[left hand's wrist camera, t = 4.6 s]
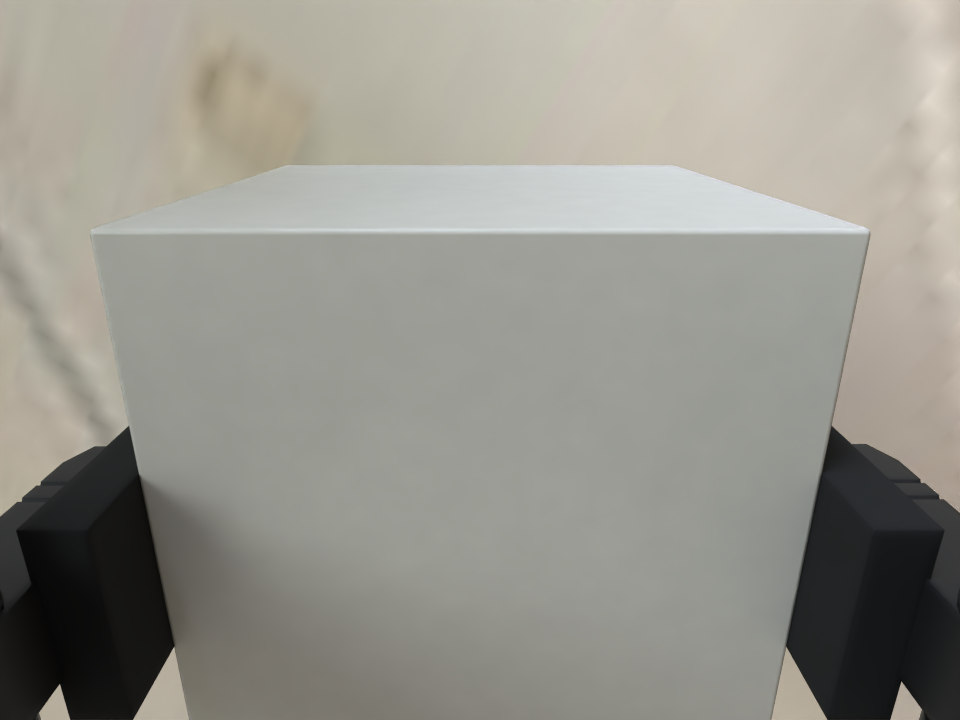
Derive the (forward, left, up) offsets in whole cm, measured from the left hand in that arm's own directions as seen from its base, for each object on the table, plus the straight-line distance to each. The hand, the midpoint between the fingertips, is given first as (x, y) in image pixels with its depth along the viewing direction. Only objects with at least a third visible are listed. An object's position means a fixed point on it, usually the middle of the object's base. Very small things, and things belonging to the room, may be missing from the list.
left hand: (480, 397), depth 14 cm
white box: (0, 0, -2) cm, 2 cm away
